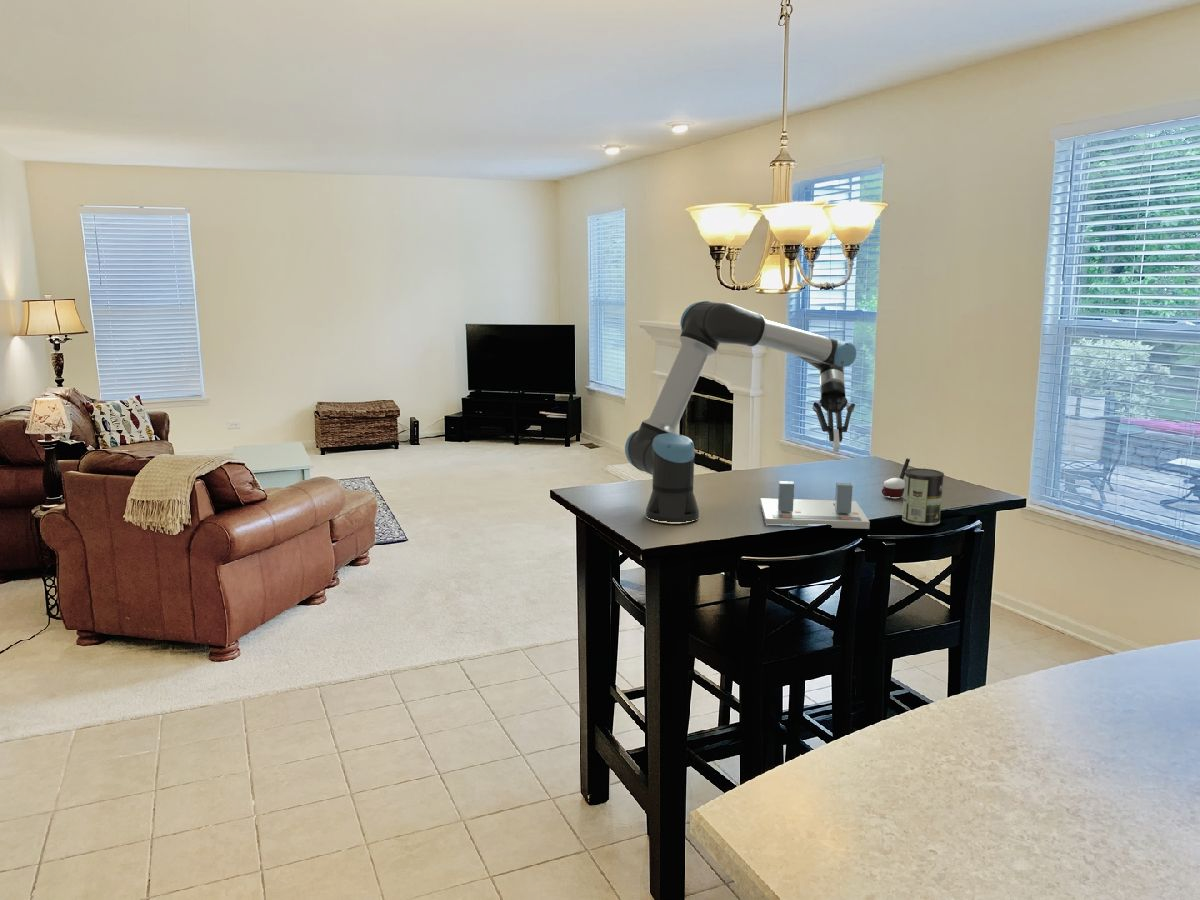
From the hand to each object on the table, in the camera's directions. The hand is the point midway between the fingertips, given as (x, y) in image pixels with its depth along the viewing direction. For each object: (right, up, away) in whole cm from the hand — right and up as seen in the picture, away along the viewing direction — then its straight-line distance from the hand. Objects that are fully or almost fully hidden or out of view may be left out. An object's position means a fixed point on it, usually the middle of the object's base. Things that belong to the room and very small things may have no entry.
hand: (836, 449), depth 262 cm
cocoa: (+20, -15, +9) cm, 27 cm away
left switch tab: (-18, -17, -14) cm, 29 cm away
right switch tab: (-3, -18, -16) cm, 24 cm away
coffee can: (+20, -20, -16) cm, 32 cm away
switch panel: (-10, -19, -12) cm, 25 cm away
